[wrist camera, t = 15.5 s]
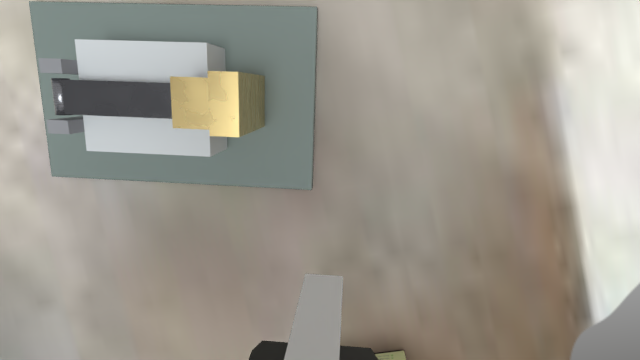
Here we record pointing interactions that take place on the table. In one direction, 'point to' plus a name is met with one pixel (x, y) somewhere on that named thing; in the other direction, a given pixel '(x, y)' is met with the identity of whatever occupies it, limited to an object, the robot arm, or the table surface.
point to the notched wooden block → (219, 103)
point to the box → (391, 356)
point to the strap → (111, 98)
